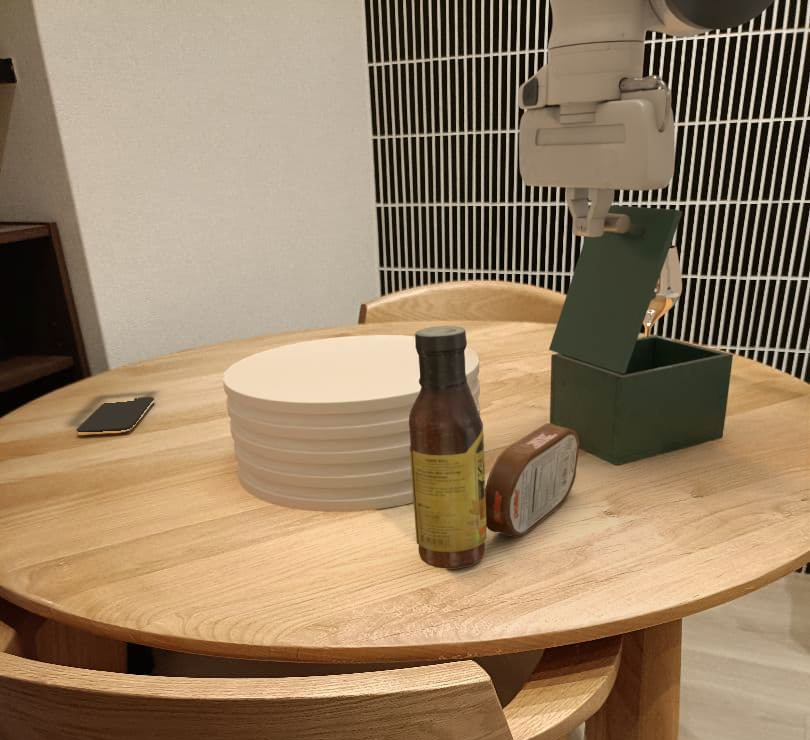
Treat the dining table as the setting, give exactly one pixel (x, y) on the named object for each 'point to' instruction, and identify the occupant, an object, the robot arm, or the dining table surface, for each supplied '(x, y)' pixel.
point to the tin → (531, 479)
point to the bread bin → (643, 399)
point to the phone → (116, 416)
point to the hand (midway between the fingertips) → (587, 235)
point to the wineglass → (665, 290)
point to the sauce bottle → (447, 454)
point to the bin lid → (614, 286)
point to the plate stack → (329, 421)
